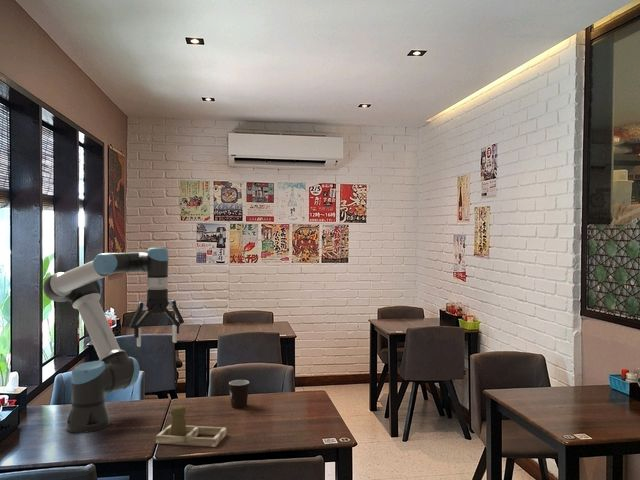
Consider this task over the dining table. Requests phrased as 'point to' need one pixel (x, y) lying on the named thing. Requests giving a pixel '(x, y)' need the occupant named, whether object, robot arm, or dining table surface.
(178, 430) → the olive condiment shaker
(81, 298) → the robot arm
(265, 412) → the dining table surface
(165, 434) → the condiment rack
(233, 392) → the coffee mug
